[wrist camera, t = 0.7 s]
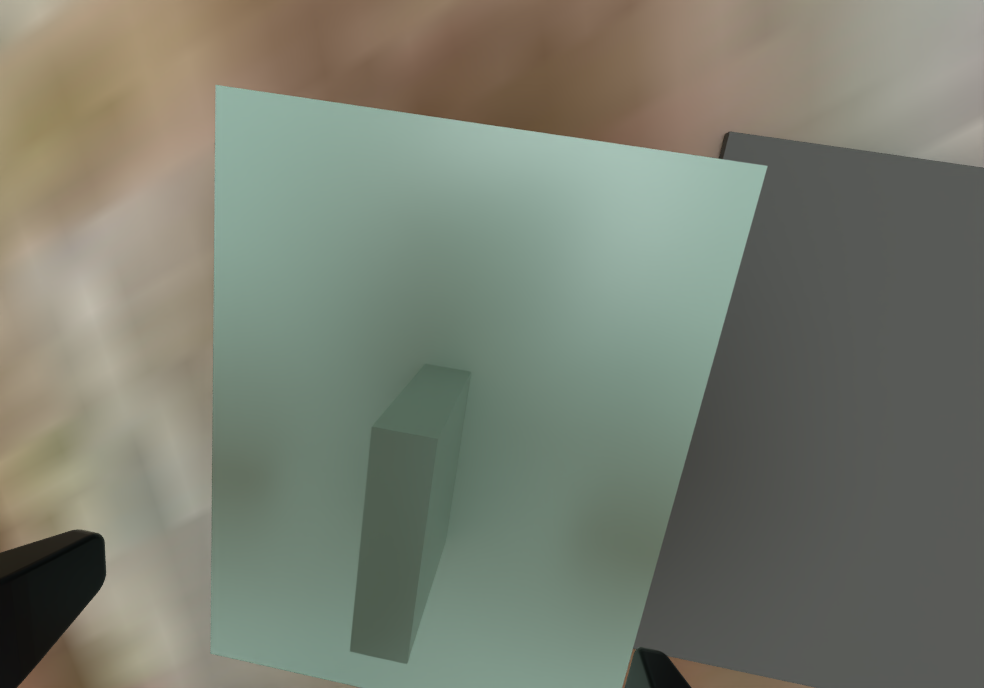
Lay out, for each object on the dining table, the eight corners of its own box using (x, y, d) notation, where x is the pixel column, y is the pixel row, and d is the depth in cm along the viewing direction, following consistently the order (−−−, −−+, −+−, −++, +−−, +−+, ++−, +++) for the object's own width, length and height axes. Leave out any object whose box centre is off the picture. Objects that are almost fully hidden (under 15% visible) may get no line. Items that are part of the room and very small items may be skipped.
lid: (599, 677, 17) (627, 924, 11) (250, 602, 18) (101, 793, 12) (731, 174, 13) (890, 135, 7) (267, 106, 14) (50, 17, 8)
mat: (1019, 722, 20) (1028, 732, 20) (598, 633, 21) (599, 641, 21) (1299, 215, 15) (1318, 215, 15) (725, 133, 16) (730, 131, 16)
